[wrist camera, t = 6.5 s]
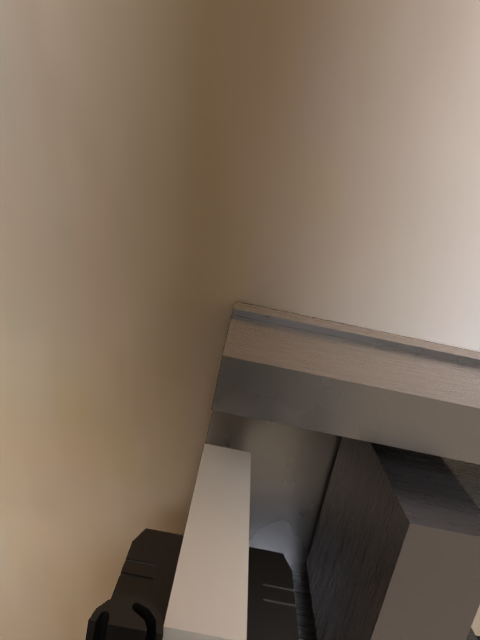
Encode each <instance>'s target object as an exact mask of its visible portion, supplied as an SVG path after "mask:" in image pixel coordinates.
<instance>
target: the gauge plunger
mask: <svg viewBox="0 0 480 640" xmlns="http://www.w3.org/2000/svg"><path fill="white" fill-rule="evenodd" d="M306 564H307V571H308V578H309V585H310V592H311V599H312V607H313V614H314V621H315V628H316V635H317V640H478V639H477V637H476V636H480V465H479V464H474V463H470V462H465V461H460V460H455V459H450V458H445V457H440V456H435V455H431V454H426V453H421V452H416V451H411V450H406V449H401V448H396V447H391V446H387V445H382V444H377V443H372V442H367V441H362V440H357V439H352V438H347V437H343V436H342V439H341V443H340V446H339V450H338V453H337V457H336V460H335V464H334V468H333V471H332V475H331V478H330V482H329V485H328V489H327V492H326V496H325V499H324V503H323V507H322V510H321V514H320V517H319V521H318V524H317V528H316V531H315V535H314V538H313V542H312V545H311V549H310V553H309V556H308V560H307V563H306Z"/></svg>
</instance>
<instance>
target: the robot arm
mask: <svg viewBox="0 0 480 640" xmlns="http://www.w3.org/2000/svg"><path fill="white" fill-rule="evenodd" d="M250 475H251V452H246V451H241V450H235V449H230V448H225V447H220V446H215V445H210V444H204V448H203V453H202V457H201V461H200V466H199V470H198V475H197V479H196V484H195V488H194V493H193V497H192V502H191V506H190V510H189V515H188V519H187V524H186V528H185V533H184V536H183V535H177V534H172V533H167V532H162V531H157V530H151V529H145V530H144V531H143V532H142V533H141V534H140V535H139V536H138V537H137V538H136V539H134V540H133V542H132V544H131V547H130V550H129V552H128V555H127V558H126V561H125V563H124V566H123V568H122V571H121V575H120V576H119V579H118V582H117V584H116V587H115V590H114V592H113V595H112V598H111V599H110V600H108V601H106V602H105V603H103V604H102V605H101V606H99V607H98V608H96V610H95V611H94V613H93V614H92V616H91V617H90V619H89V620H88V627H87V634H86V640H299V635H298V625H297V615H296V608H295V594H294V584H293V574H292V569H291V567H290V566H289V564H288V562H287V560H286V558H285V557H284V555H283V553H278V552H273V551H268V550H263V549H258V548H252V547H249V517H250Z"/></svg>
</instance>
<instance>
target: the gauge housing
mask: <svg viewBox="0 0 480 640" xmlns="http://www.w3.org/2000/svg"><path fill="white" fill-rule="evenodd" d="M211 410H212V415H211V420H210V425H209V430H208V435H207V439H206V444H210V445H215V446H220V447H225V448H230V449H235V450H241V451H246V452H251V475H250V517H249V547H252V548H258V549H263V550H268V551H273V552H278V553H283V555H284V557H285V558H286V560H287V562H288V564H289V566H290V567H291V569H292V574H293V584H294V594H295V608H296V615H297V625H298V635H299V640H317V635H316V628H315V621H314V614H313V607H312V599H311V592H310V585H309V578H308V571H307V564H306V563H307V560H308V556H309V553H310V549H311V545H312V542H313V538H314V535H315V531H316V528H317V524H318V521H319V517H320V514H321V510H322V507H323V503H324V499H325V496H326V492H327V489H328V485H329V482H330V478H331V475H332V471H333V468H334V464H335V460H336V457H337V453H338V450H339V446H340V443H341V439H342V436H343V437H347V438H352V439H357V440H362V441H367V442H372V443H377V444H382V445H387V446H391V447H396V448H401V449H406V450H411V451H416V452H421V453H426V454H431V455H435V456H440V457H445V458H450V459H455V460H460V461H465V462H470V463H474V464H479V465H480V352H476V351H471V350H466V349H462V348H457V347H452V346H447V345H442V344H437V343H433V342H428V341H423V340H418V339H413V338H409V337H404V336H399V335H394V334H389V333H385V332H380V331H375V330H370V329H365V328H361V327H356V326H351V325H346V324H341V323H336V322H332V321H327V320H322V319H317V318H312V317H308V316H303V315H298V314H293V313H288V312H284V311H279V310H274V309H269V308H264V307H259V306H255V305H250V304H245V303H240V302H235V304H234V308H233V313H232V317H231V322H230V326H229V330H228V334H227V338H226V343H225V347H224V351H223V355H222V360H221V365H220V370H219V375H218V380H217V385H216V390H215V394H214V399H213V404H212V409H211ZM476 637H477V639H478V640H480V636H476Z"/></svg>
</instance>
